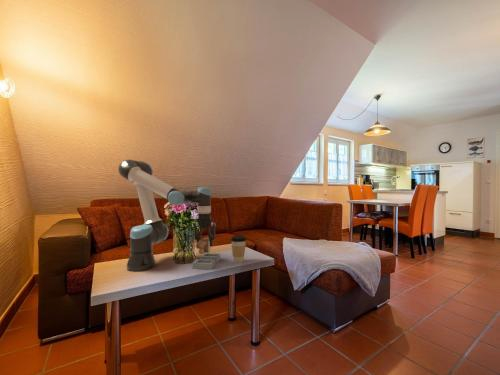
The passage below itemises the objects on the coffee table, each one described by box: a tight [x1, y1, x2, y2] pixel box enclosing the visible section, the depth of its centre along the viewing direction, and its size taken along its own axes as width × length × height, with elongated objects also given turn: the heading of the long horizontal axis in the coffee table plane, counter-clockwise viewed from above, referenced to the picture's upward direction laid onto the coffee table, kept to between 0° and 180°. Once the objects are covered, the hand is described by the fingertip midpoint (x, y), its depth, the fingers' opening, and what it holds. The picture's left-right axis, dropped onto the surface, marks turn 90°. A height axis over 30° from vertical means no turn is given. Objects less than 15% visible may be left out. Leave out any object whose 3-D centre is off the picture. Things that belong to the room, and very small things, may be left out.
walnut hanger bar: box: [195, 236, 209, 255], centre depth 141 cm, size 5×19×7 cm, turn 173°
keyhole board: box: [192, 252, 221, 270], centre depth 140 cm, size 11×20×3 cm, turn 173°
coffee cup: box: [230, 235, 247, 264], centre depth 145 cm, size 10×10×15 cm
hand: (205, 251), depth 141 cm, fingers closed on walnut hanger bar, 5 cm apart
